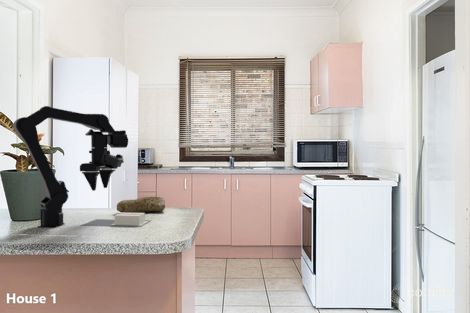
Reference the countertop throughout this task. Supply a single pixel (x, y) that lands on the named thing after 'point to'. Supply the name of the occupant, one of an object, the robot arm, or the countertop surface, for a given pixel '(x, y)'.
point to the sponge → (141, 205)
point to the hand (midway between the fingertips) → (99, 189)
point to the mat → (111, 223)
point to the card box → (130, 218)
